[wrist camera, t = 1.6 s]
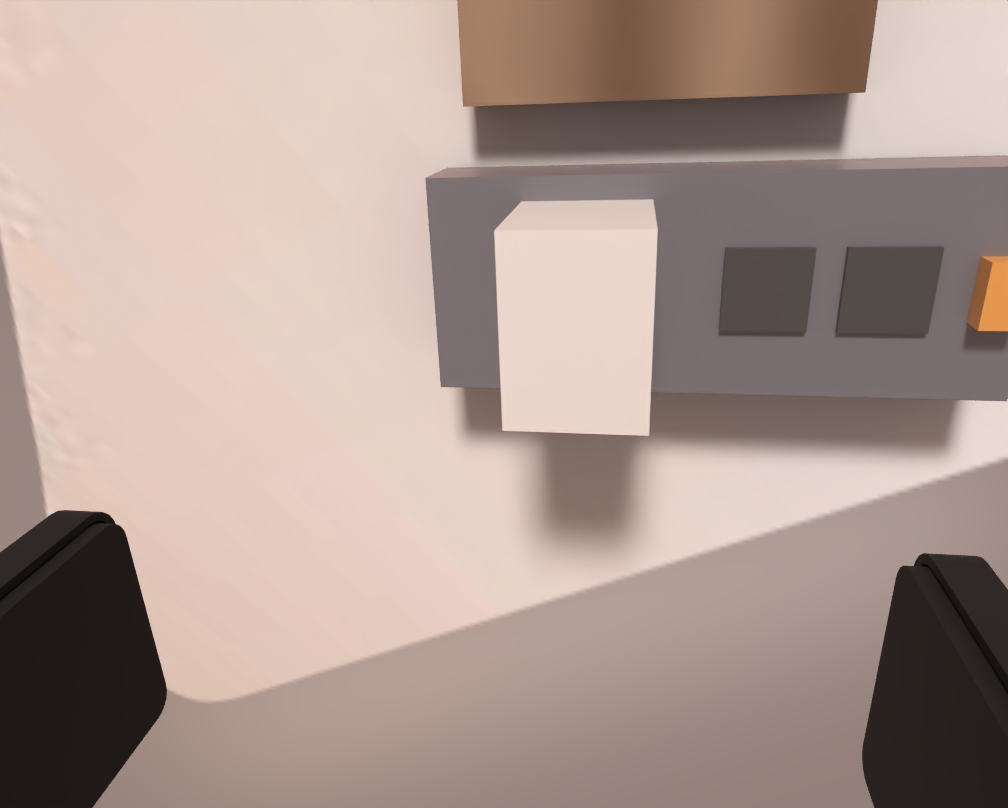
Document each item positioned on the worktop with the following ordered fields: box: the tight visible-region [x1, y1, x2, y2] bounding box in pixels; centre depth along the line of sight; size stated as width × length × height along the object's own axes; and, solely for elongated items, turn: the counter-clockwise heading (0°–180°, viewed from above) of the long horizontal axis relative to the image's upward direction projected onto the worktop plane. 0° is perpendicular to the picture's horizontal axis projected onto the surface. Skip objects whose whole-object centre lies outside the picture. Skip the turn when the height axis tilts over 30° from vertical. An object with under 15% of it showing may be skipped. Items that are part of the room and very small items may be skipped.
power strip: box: [426, 156, 1008, 401], centre depth 25 cm, size 18×7×4 cm, turn 92°
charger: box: [494, 199, 658, 436], centre depth 23 cm, size 4×6×6 cm
